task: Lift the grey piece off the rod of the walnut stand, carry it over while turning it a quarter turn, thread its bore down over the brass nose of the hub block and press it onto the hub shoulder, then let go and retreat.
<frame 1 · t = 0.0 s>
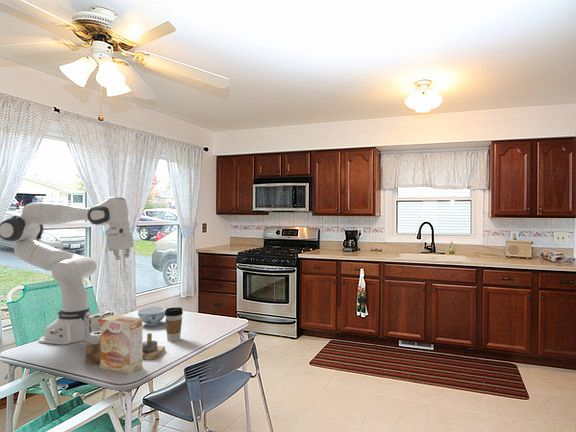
hand: (122, 258, 184), 39 cm above the table, tool pointing down, fingers open, 8 cm apart
coffee cup: (173, 339, 184), on the table
stand: (98, 361, 156), on the table
coffeecake box: (121, 368, 150), on the table
candy bar box: (99, 351, 168), on the table
hub: (149, 354, 164), on the table
chinaware: (152, 324, 209), on the table
grey piece: (98, 341, 156), point 8 cm above the table, touching stand
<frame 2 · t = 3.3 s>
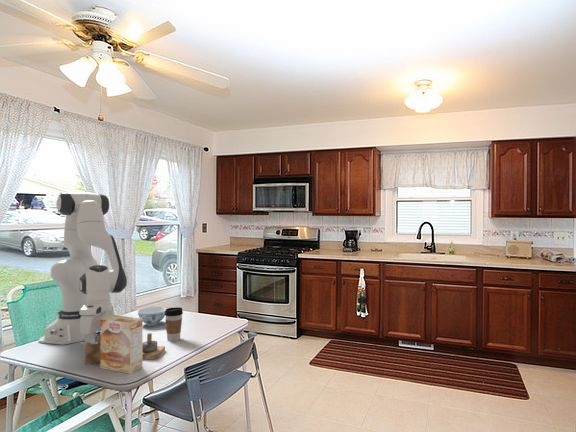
hand: (98, 339, 156), 9 cm above the table, tool pointing down, fingers closed on grey piece, 6 cm apart
grey piece: (98, 341, 156), point 8 cm above the table, touching gripper, stand
everything else where it was.
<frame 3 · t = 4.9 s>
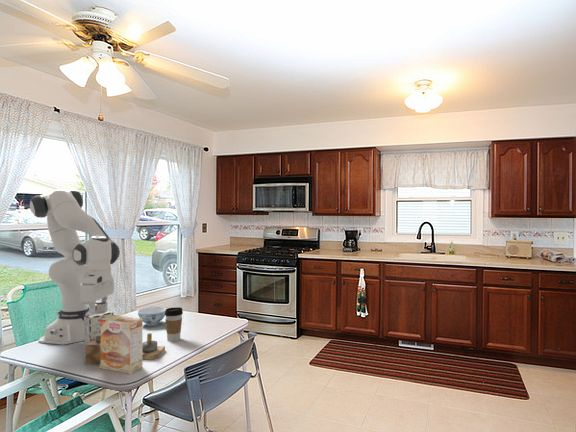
hand: (98, 309, 156), 21 cm above the table, tool pointing down, fingers closed on grey piece, 6 cm apart
grey piece: (98, 312, 156), point 20 cm above the table, touching gripper
everything else where it was.
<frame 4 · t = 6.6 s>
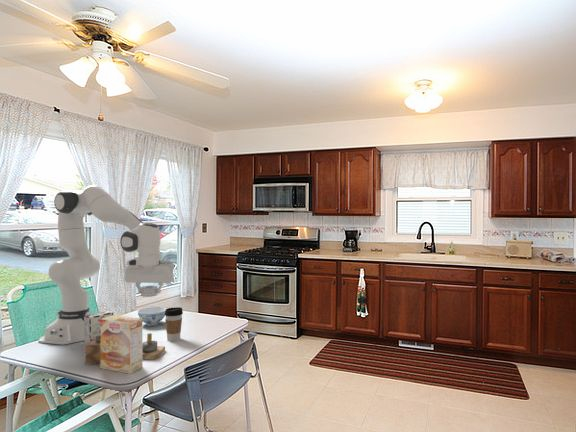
hand: (149, 292, 164), 27 cm above the table, tool pointing down, fingers closed on grey piece, 6 cm apart
grey piece: (149, 295, 164), point 26 cm above the table, touching gripper
everything else where it was.
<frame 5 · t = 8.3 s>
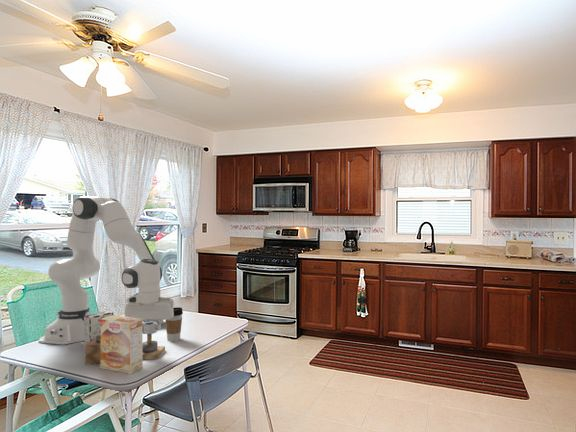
hand: (149, 329, 164), 11 cm above the table, tool pointing down, fingers closed on grey piece, 6 cm apart
grey piece: (149, 331, 164), point 10 cm above the table, touching gripper
everything else where it was.
when the fingers open (7 cm above the table, at t = 9.6 s): grey piece stays where it is, resting on hub.
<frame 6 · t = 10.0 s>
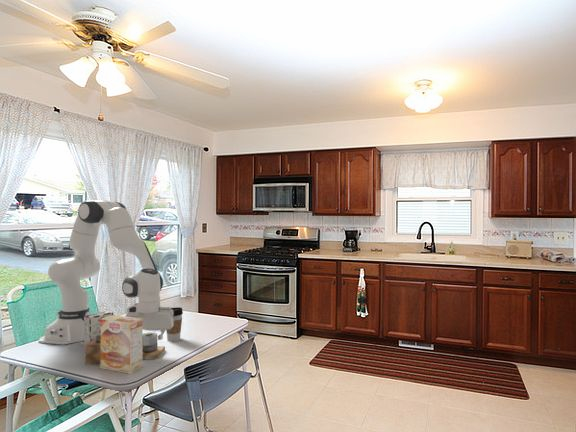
hand: (149, 339, 164), 7 cm above the table, tool pointing down, fingers open, 8 cm apart
grey piece: (149, 343, 164), point 5 cm above the table, touching hub
everything else where it was.
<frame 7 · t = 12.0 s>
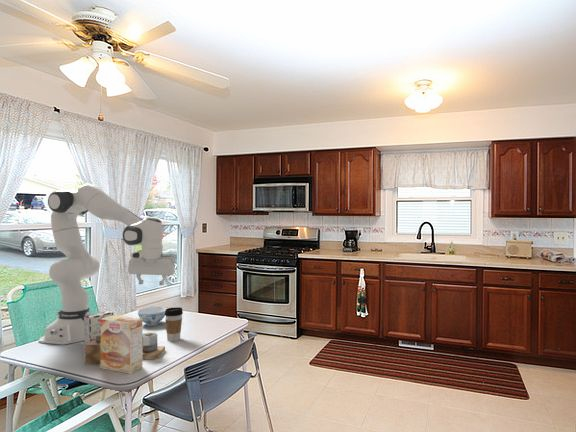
hand: (151, 284, 172), 29 cm above the table, tool pointing down, fingers open, 8 cm apart
nothing on the table moved.
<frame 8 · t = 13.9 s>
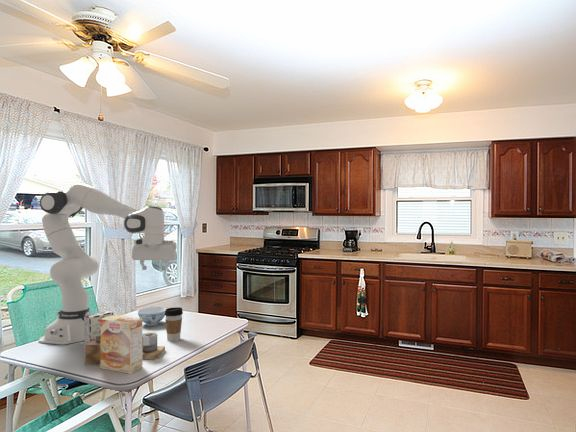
hand: (154, 269, 180), 34 cm above the table, tool pointing down, fingers open, 8 cm apart
nothing on the table moved.
at the end: grey piece 0.1 cm off-centre on the hub, point 5.0 cm above the hub's base; the gripper is holding nothing; grey piece tilted 0° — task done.
